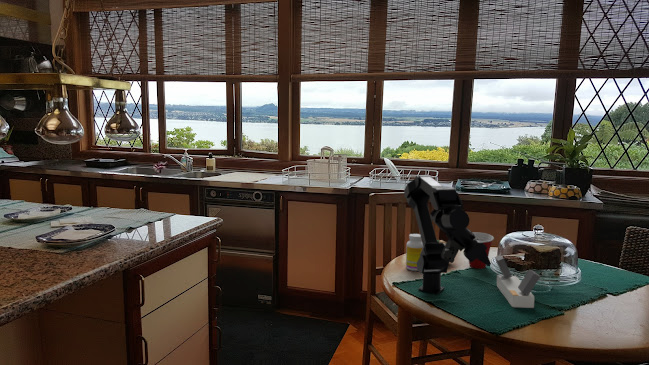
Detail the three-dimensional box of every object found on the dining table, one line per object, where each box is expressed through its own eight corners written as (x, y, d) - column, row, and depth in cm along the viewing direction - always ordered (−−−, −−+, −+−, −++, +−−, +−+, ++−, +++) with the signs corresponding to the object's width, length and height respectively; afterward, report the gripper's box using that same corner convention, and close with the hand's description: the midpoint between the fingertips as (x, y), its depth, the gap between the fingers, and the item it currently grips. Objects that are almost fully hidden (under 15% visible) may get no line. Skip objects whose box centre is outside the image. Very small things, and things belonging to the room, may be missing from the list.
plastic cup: (461, 269, 166) (462, 237, 164) (463, 261, 176) (464, 231, 174) (492, 272, 162) (493, 240, 160) (493, 264, 171) (494, 233, 170)
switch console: (512, 307, 130) (512, 294, 130) (496, 285, 148) (497, 274, 148) (533, 307, 130) (534, 295, 129) (515, 286, 147) (515, 275, 147)
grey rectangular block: (521, 292, 130) (534, 273, 129) (517, 287, 134) (529, 269, 132) (528, 295, 130) (540, 276, 128) (523, 290, 133) (535, 272, 132)
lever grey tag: (506, 279, 144) (497, 260, 143) (502, 275, 148) (494, 257, 147) (512, 276, 143) (503, 258, 143) (508, 272, 147) (500, 254, 147)
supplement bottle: (424, 272, 163) (424, 237, 161) (405, 271, 164) (406, 237, 163) (423, 266, 169) (424, 233, 168) (406, 265, 171) (406, 232, 169)
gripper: (428, 238, 142) (462, 273, 142) (437, 253, 124) (476, 293, 124) (454, 214, 141) (488, 249, 141) (467, 226, 122) (506, 266, 122)
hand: (489, 264), depth 132 cm, fingers closed
